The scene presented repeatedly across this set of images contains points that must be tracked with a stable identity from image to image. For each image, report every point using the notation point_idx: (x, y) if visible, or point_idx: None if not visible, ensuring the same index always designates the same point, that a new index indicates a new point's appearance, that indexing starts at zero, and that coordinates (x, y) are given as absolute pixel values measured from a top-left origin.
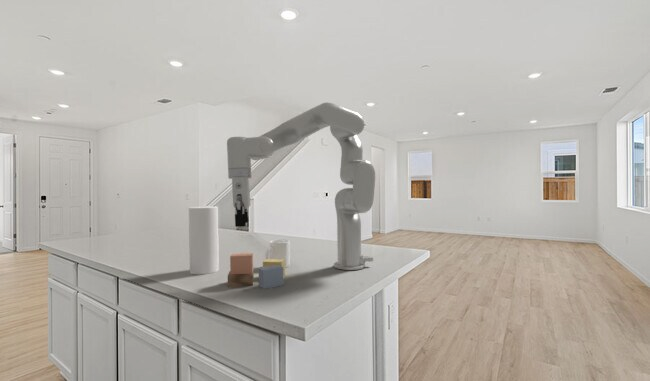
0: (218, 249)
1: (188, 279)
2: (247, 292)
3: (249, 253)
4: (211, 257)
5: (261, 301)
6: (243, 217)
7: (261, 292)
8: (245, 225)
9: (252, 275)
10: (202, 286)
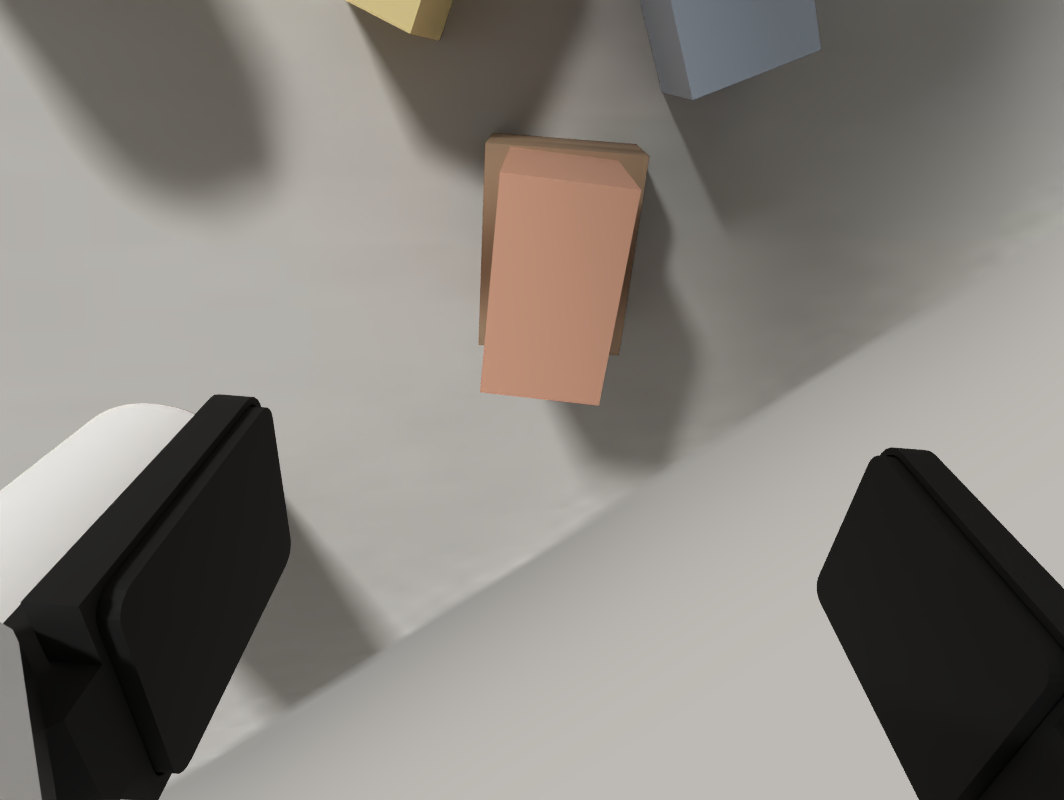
0: (33, 498)
1: (375, 544)
2: (790, 188)
3: (511, 214)
4: None
5: (1043, 88)
6: (1040, 623)
7: (842, 77)
8: (927, 451)
9: (646, 155)
10: (546, 463)
